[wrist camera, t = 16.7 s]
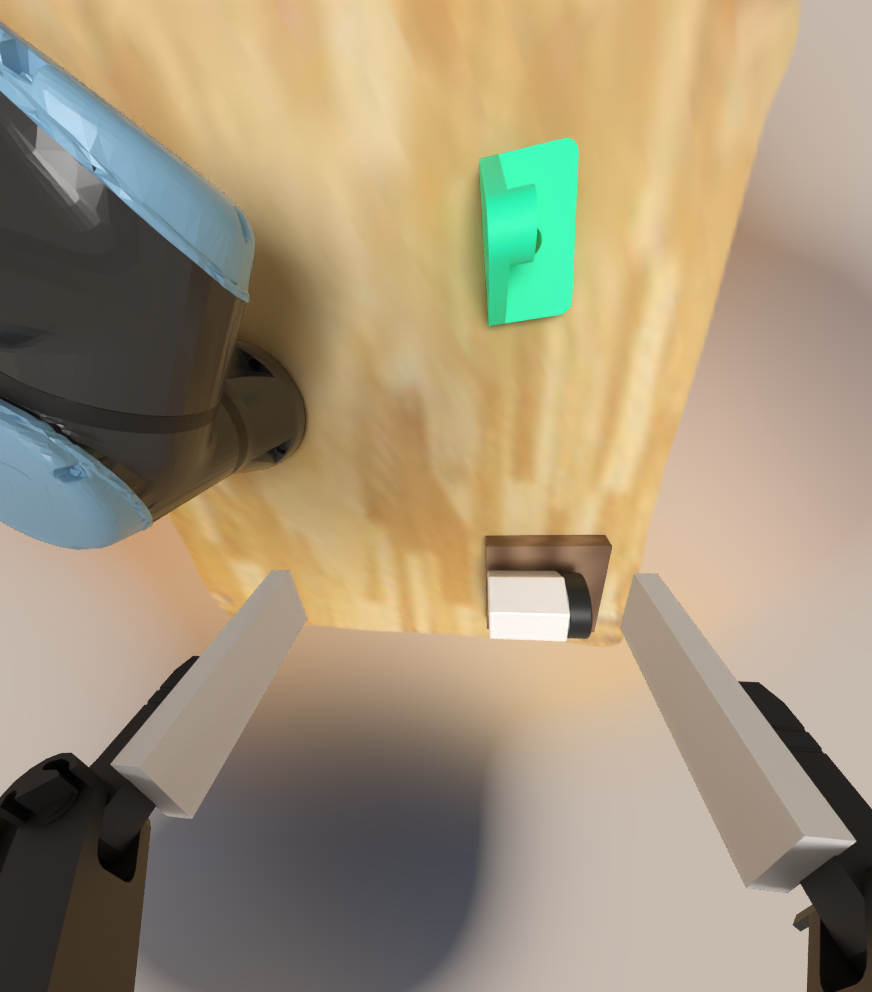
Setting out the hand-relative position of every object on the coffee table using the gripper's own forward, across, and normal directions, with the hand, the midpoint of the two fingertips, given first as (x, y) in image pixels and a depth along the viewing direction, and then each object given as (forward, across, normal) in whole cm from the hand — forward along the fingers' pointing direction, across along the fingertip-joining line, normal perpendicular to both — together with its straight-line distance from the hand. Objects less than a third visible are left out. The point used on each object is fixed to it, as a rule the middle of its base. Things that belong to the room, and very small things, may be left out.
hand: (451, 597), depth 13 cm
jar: (+22, +2, -23) cm, 32 cm away
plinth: (+29, +10, -25) cm, 39 cm away
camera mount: (+29, +6, +16) cm, 34 cm away
